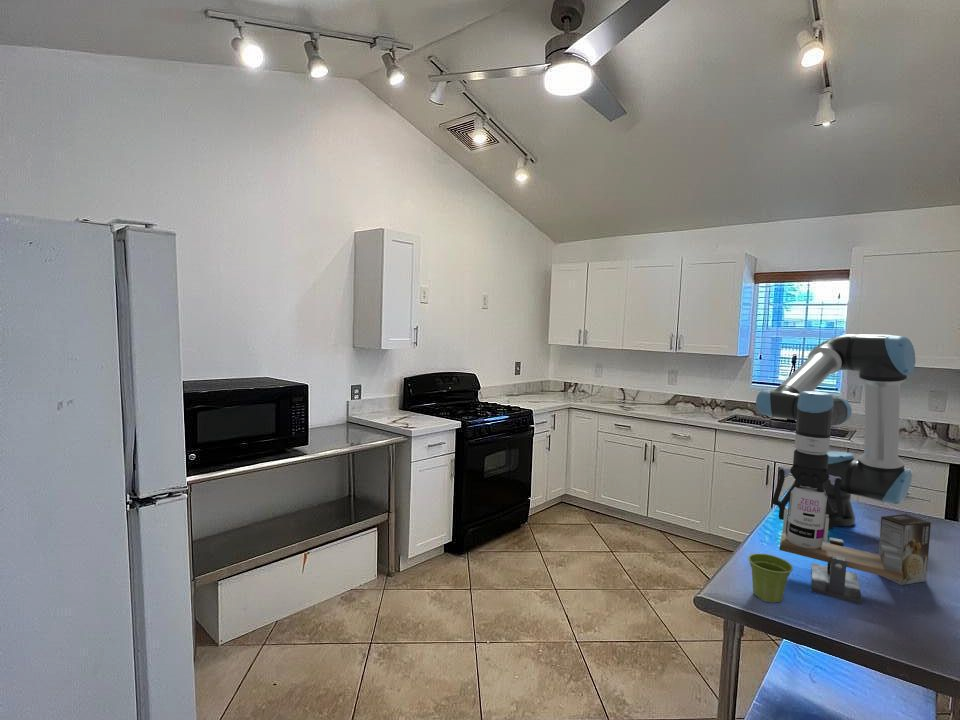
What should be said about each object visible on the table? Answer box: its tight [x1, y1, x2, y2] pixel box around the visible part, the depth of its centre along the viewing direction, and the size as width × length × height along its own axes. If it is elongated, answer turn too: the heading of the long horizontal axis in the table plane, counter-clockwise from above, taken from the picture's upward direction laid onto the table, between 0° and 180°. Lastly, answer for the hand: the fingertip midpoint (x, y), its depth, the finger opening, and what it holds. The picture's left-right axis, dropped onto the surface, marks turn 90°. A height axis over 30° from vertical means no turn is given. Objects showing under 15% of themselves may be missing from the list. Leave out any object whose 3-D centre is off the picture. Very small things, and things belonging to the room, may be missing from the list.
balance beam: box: [779, 532, 903, 581], centre depth 130 cm, size 10×25×4 cm, turn 57°
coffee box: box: [878, 513, 932, 586], centre depth 134 cm, size 9×6×16 cm
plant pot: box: [747, 553, 794, 604], centre depth 124 cm, size 9×9×9 cm
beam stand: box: [810, 537, 863, 606], centre depth 130 cm, size 17×10×10 cm, turn 147°
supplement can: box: [785, 485, 828, 549], centre depth 133 cm, size 8×8×15 cm
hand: (804, 536), depth 134 cm, fingers closed on supplement can, 8 cm apart
